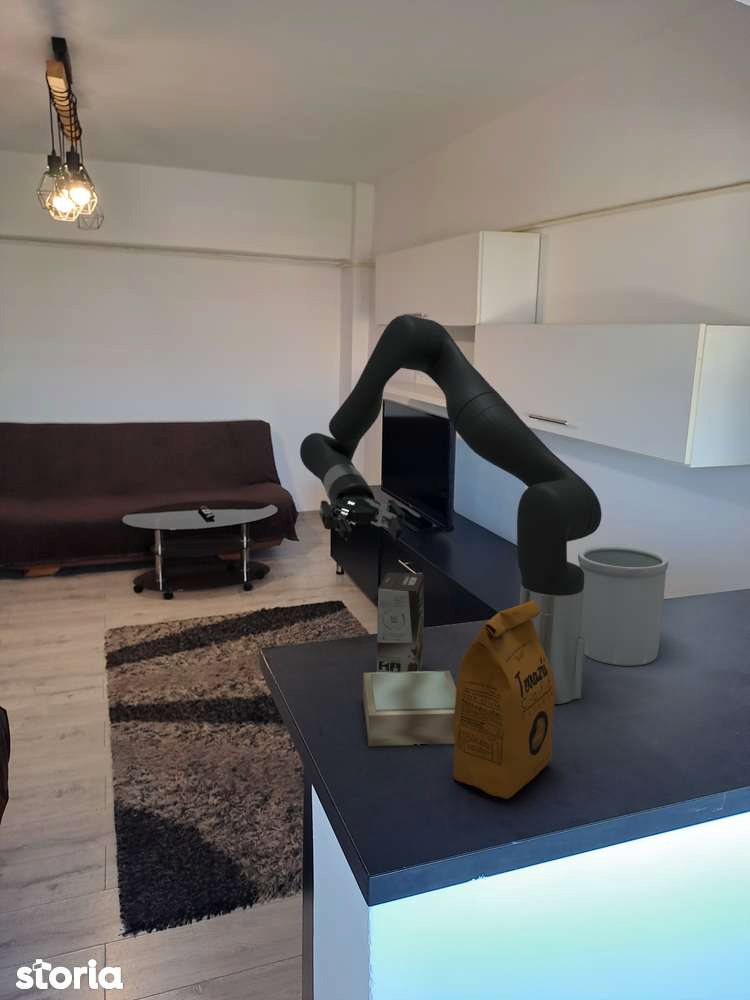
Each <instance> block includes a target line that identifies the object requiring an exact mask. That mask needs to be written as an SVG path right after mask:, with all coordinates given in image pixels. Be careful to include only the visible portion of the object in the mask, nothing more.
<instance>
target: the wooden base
mask: <svg viewBox="0 0 750 1000" xmlns="http://www.w3.org/2000/svg"><path fill="white" fill-rule="evenodd" d="M362 681H363V691H362V692H363V695H362V696H363V697H362V699H363V701H364V702H363V708H364V710H363V711H364V717H365V718H366V719H365V725H366V733H367V741H368V742H367V744H368V747H382V746H383V747H386V746H387V747H389V746H415V745H414V744H417V745H416V746H418V745H419V746H420V744H428V745H454V711H455V702H456V689H457V686H456V684H455V681H454V679H453V676H452V674H451V671H450V670H433V671H431V670H429V671H428V670H427V671H425V670H424V671H423V670H422V671H421V670H420V672H377V671H376V672H363V680H362Z"/></svg>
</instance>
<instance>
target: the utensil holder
mask: <svg viewBox="0 0 750 1000" xmlns="http://www.w3.org/2000/svg"><path fill="white" fill-rule="evenodd" d="M577 560H578V563H579V564H578V566H579V567H580V568H581V569H582V570H583V572H584V590H583V604H582V619H581V633H580V636H581V637H582V638H583V639H584V641H585V645H584V656H585V657H588V658H589V659H592V660H593V661H598V662H601V663H605V664H608V665H614V666H615V665H616V666H622V667H623V666H626V667H627V666H628V667H630V666H641V665H645V664H646V665H647V664H649V663H651V662H653V661H655V660H656V658H657V657H658V653H659V647H660V646H659V645H660V638H661V631H662V620H663V610H664V609H663V608H664V598H665V587H666V574H667V570H668V568H669V558H668V557H667V556H666V555H665V554H664V553H662V552H659V551H657V550H655V549H650V548H646V547H643V546H642V547H641V546H635V545H629V544H628V545H626V544H599V545H592V546H591V545H590V546H587V547H584V548H582V549H580V550H579V551H578V554H577Z"/></svg>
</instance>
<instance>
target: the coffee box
mask: <svg viewBox="0 0 750 1000" xmlns="http://www.w3.org/2000/svg"><path fill="white" fill-rule="evenodd" d="M377 590H378V591H377V597H378V598H377V627H376V628H377V629H376V630H377V631H376V633H377V634H376V638H377V639H376V672H420V671H421V670H422V667H423V658H424V657H423V653H424V652H423V649H424V648H423V647H424V614H425V613H424V608H425V607H424V605H425V602H424V600H425V574H423V573H412V572H408V573H407V572H387V573H386V574H385V576H384V578H383V579H382V581H381V583H380V584H379V586H378V589H377Z"/></svg>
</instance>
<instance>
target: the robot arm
mask: <svg viewBox="0 0 750 1000" xmlns="http://www.w3.org/2000/svg"><path fill="white" fill-rule="evenodd" d="M401 369H403V370H404V369H405V370H410V371H418V372H422V373H424V374H425V375H427V376H428V377H429V378H430V379H431V380H432V381H433V382H434V383H435V384H436V385H437V386H438V388H440V390H441V391H442V393H443V395H444V397H445V407H446V408H445V409H446V412H447V413H446V414H447V417H448V420H449V423H450V425H451V426H452V428H453V429H454V431H455V432H456V433H457V434H458V435H459V437H461V439H462V441H463V442H465V444H466V445H467V446H468V448H469V449H471V451H473V453H475V454H477V455H478V456H479V457H480V458H481V459H483V460H485V461H487V462H488V463H490V464H492V465H494V466H495V467H497V468H499V469H500V470H503V471H505V472H506V473H509V474H510V475H512V476H513V477H515V478H517V479H518V480H519V481H521V482H522V483H523V484H524V485H525V486H526V487H527V488H526V489H525V490H524V491H523V493H522V494H521V496H520V499H519V502H518V506H517V512H516V513H517V514H516V515H517V517H516V557H517V559H516V561H517V564H518V565H517V566H518V568H519V572H520V576H521V578H520V580H521V581H520V597H519V605H521V604H524V603H527V602H529V601H535V602H536V603H537V606H538V608H539V610H540V614H539V615H538V616H537V617H535V618H533V619H531V620H532V622H533V623H534V626H535V630H536V633H537V637H538V641H539V643H540V645H541V647H542V648H543V650H544V652H545V654H546V657H547V659H548V662H549V664H550V667H551V670H552V673H553V677H554V685H555V691H556V694H555V705H559V704H566V703H569V702H571V701H573V700H581V697H582V687H583V686H582V684H583V670H584V658H585V657H584V656H585V655H584V645H585V641H584V639H583V638H582V637H581V636H580V633H581V619H582V604H583V590H584V572H583V570H582V569H581V568H580V567H579V565H577V564H575V563H572V562H569V561H568V552H567V551H568V547H567V546H568V544H567V543H568V542H571V541H576V540H581V539H584V538H586V537H588V536H590V535H592V534H594V533H595V532H596V531H597V530H598V528H599V527H600V525H601V521H602V515H603V514H602V508H601V503H600V501H599V499H598V495H597V494H596V492H595V491H594V490H593V488H592V487H591V486H590V485H589V483H587V482H586V481H585V480H584V479H583V478H582V477H581V476H579V474H577V473H576V471H574V470H573V469H572V468H571V467H569V466H568V465H567V464H566V462H564V461H562V459H561V458H559V457H558V456H557V455H556V454H554V453H553V451H552V450H550V449H549V447H548V446H546V444H545V443H544V442H543V441H542V440H541V439H540V438H539V436H537V434H535V432H534V431H533V430H532V429H531V428H530V427H529V426H528V425H527V424H526V423H525V422H524V421H523V419H521V418H520V416H519V415H518V414H517V412H516V411H515V410H514V409H513V408H512V406H511V405H510V404H508V402H507V401H506V400H505V399H504V398H503V396H502V395H501V394H499V392H498V391H497V390H495V389H494V388H493V386H491V384H490V383H489V382H488V381H487V380H486V379H485V378H484V376H483V375H482V374H481V373H480V372H479V371H478V370H477V369H476V368H475V367H474V366H473V365H472V364H471V363H470V362H469V360H468V359H467V357H466V356H465V354H464V353H463V352H462V350H461V349H460V347H459V346H458V344H457V343H456V342H455V340H454V339H453V337H452V336H451V335H450V333H449V332H448V331H447V329H446V328H445V327H444V326H443V325H442V324H440V323H438V322H437V321H436V320H432V319H428V318H422V317H419V316H415V315H408V314H402V315H398V316H396V317H394V318H393V319H392V320H391V321H389V323H388V324H387V326H386V327H385V329H384V330H383V332H382V334H381V335H380V337H379V338H378V341H377V343H376V345H375V347H374V348H373V350H372V353H371V355H370V356H369V359H368V360H367V362H366V364H365V366H364V369H363V371H362V372H361V375H360V376H359V379H358V380H357V382H356V384H355V386H354V387H353V389H352V390H351V392H350V393H349V395H348V396H347V398H346V399H345V400H344V402H343V403H342V404H341V405H340V407H339V408H338V409H337V411H336V412H335V413H334V415H333V416H332V418H331V419H330V421H329V423H328V429H329V433H330V435H331V436H332V437H331V436H329V435H326V434H323V433H321V432H313V433H309V434H308V435H307V436H306V437H304V439H303V440H302V442H301V443H300V449H299V450H300V451H299V455H300V459H301V462H302V464H303V465H304V466H305V468H306V470H308V471H309V472H310V473H311V474H313V476H315V477H316V478H317V479H319V480H320V481H321V483H322V486H323V488H324V490H325V494H326V496H327V498H328V499H329V501H330V504H329V502H328V501H327V500H321V501H320V508H319V517H320V520H321V523H322V526H323V527H324V528H323V529H325V530H332V529H333V528H334V529H335V531H337V532H338V533H339V535H340V537H341V539H344V540H345V541H346V542H350V541H351V540H352V534H353V530H352V527H351V525H350V524H352V523H353V524H359V523H369V524H371V525H374V526H376V527H379V528H380V527H384V528H386V529H387V530H388V532H389V534H390V535H391V537H392V538H393V540H399V539H400V537H401V536H402V531H403V527H404V521H405V516H406V514H405V512H404V511H403V510H402V508H401V507H400V506H399V505H398V503H397V502H396V501H395V500H394V499H388V501H387V503H381V502H380V501H378V500H376V498H375V495H374V493H373V491H372V489H371V487H370V486H369V484H368V483H367V481H366V479H365V478H364V476H363V475H362V474H361V472H360V471H359V470H358V469H357V468H356V466H355V465H354V464H353V462H352V460H353V458H354V455H355V452H356V450H357V448H358V446H359V445H360V442H361V440H362V438H364V436H365V435H366V434H367V433H368V431H369V430H370V429H371V427H372V426H373V425H374V424H375V422H376V421H377V419H378V418H379V415H380V413H381V409H382V407H383V404H382V403H383V395H384V389H385V387H386V385H387V383H388V382H389V381H390V379H391V378H392V377H393V376H394V375H395V374H396V373H398V372H399V371H400V370H401ZM333 513H335V515H337V517H335V516H334V515H333ZM377 517H378V519H377ZM386 518H387V519H388V521H387V520H386Z"/></svg>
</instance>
